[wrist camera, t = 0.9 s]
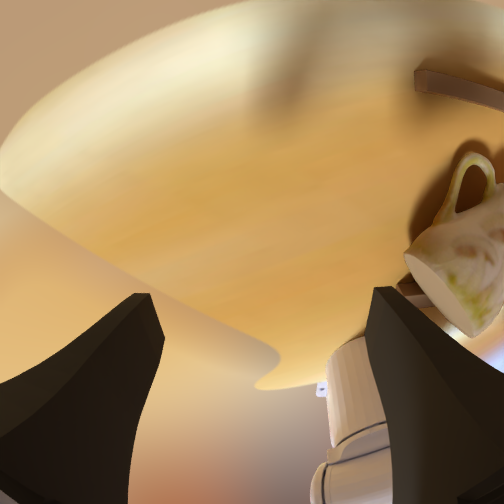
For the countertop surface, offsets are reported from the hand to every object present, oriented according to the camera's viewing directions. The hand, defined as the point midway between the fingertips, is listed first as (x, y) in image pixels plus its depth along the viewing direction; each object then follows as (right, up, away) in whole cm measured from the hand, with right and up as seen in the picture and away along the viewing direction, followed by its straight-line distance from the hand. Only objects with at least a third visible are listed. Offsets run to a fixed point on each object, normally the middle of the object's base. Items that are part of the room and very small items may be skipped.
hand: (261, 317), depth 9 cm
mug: (+15, +6, +7) cm, 17 cm away
